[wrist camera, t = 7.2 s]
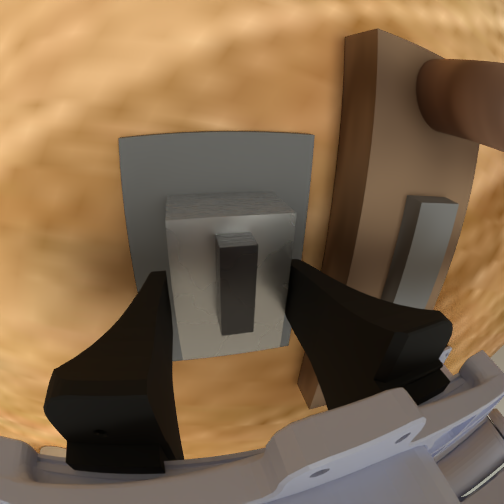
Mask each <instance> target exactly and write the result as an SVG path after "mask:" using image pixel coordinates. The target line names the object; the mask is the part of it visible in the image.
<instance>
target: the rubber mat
mask: <svg viewBox="0 0 504 504" xmlns="http://www.w3.org/2000/svg"><path fill="white" fill-rule="evenodd" d="M313 148H314V135H312V134H301V133H284V132H257V131H209V132H182V133H165V134H152V135H141V136H131V137H122V138H119V154H120V169H121V181H122V192H123V201H124V210H125V218H126V226H127V233H128V240H129V247H130V253H131V259H132V265H133V270H134V276H135V281H136V286H137V291H138V292H139V291H140V289H141V287H142V286H143V284H144V282H145V281H146V279H147V277H148V275H149V274H150V272H153V271H165V270H166V275H167V283H168V290H169V297H170V304H171V311H172V324H173V355H172V361H179V360H183V357H182V352H181V346H180V340H179V333H178V327H177V320H176V314H175V306H174V299H173V291H172V283H171V275H170V266H169V257H168V246H167V236H166V224H165V217H166V202H167V196H170V195H185V194H202V193H222V192H248V191H273V192H274V193H275V194H276V195H277V196H278V197H279V198H280V199H282V200H283V201H284V202H285V203H286V204H287V205H288V206H289V207H290V208H291V209H292V210H294V211H295V212H296V213H297V214H296V223H295V233H294V242H293V251H292V259H299V260H301V259H302V251H303V243H304V235H305V227H306V218H307V209H308V200H309V191H310V181H311V170H312V159H313ZM290 333H291V325H290V323H289V322H288V320H287V318H286V315H285V314H284V322H283V329H282V336H281V343H280V347H283V346H288V344H289V339H290ZM224 356H225V355H224ZM216 357H217V356H216ZM189 360H190V359H189Z"/></svg>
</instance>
